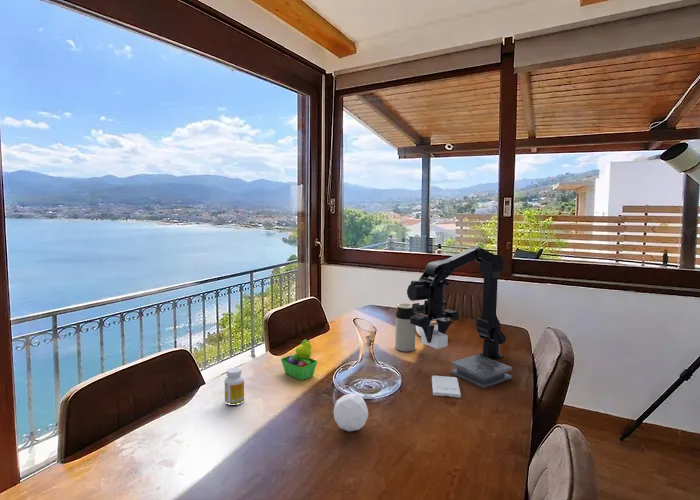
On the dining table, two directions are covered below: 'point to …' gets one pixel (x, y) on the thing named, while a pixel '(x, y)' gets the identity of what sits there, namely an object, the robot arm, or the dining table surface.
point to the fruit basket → (300, 362)
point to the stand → (481, 370)
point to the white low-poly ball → (350, 412)
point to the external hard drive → (445, 386)
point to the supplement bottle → (234, 386)
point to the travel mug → (404, 328)
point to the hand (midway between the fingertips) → (434, 341)
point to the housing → (435, 339)
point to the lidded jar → (420, 329)
